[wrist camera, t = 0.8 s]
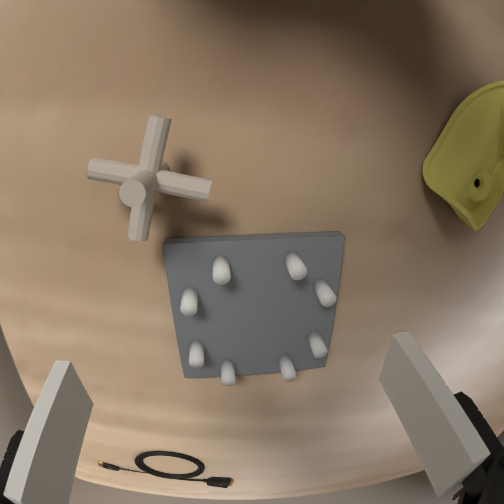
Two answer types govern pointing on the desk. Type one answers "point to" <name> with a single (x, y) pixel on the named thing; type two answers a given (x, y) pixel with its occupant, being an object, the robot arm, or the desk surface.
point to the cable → (139, 462)
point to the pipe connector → (148, 178)
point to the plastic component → (471, 156)
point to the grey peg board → (253, 302)
